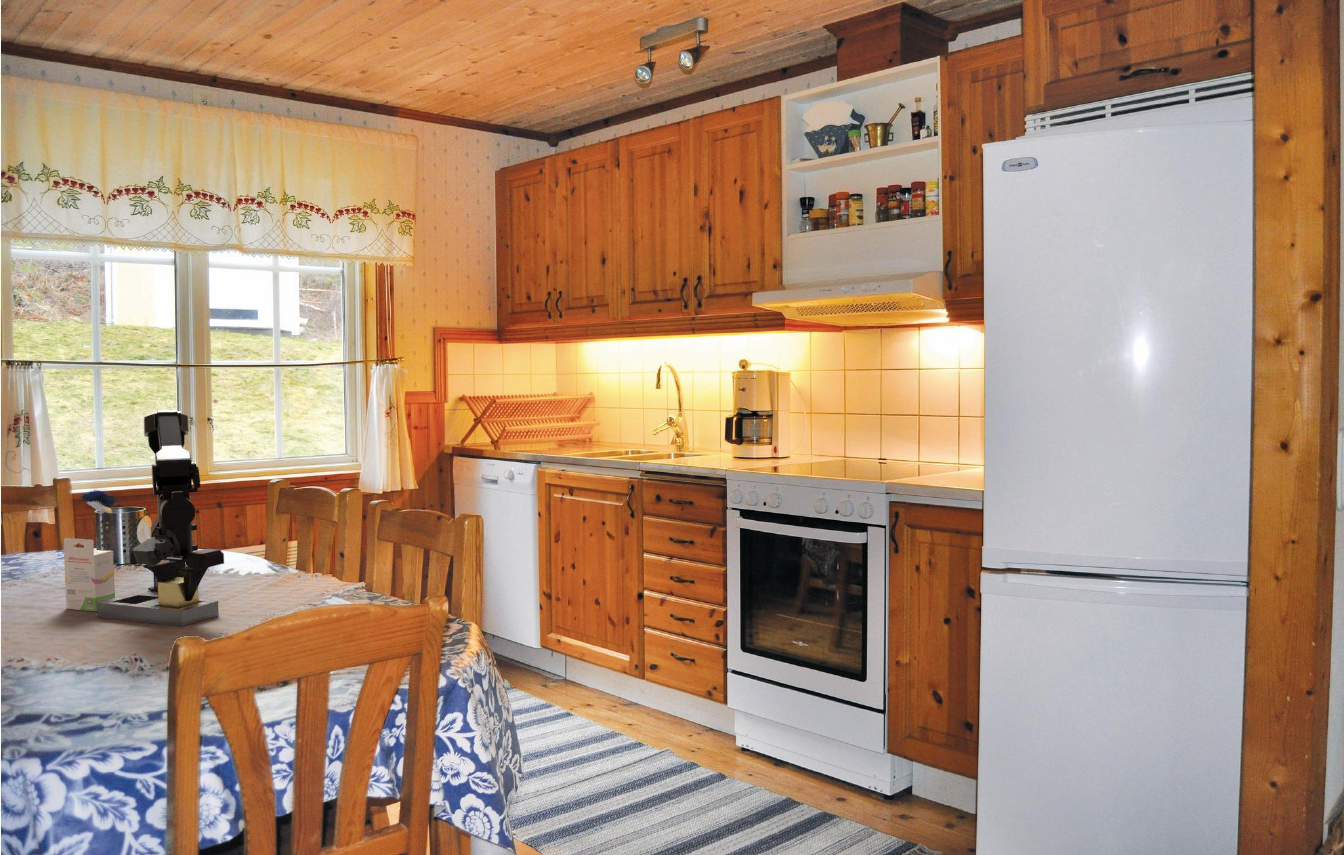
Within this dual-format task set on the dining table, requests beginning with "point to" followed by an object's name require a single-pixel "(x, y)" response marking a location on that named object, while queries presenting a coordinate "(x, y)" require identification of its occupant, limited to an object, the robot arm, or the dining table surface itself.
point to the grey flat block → (155, 610)
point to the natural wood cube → (174, 594)
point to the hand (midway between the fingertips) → (178, 599)
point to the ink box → (87, 575)
